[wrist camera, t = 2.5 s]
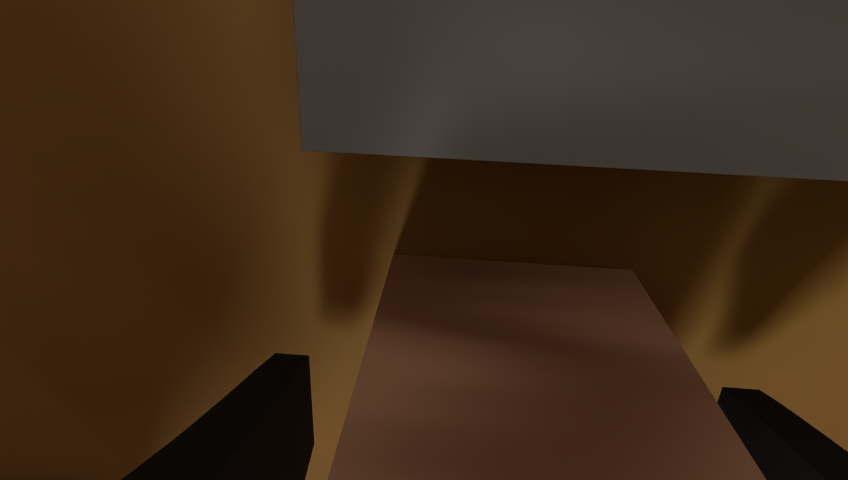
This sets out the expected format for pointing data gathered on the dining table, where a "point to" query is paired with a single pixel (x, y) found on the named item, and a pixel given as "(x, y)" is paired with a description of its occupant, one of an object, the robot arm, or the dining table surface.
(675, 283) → the dining table surface
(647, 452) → the terracotta block
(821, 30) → the charcoal plinth
